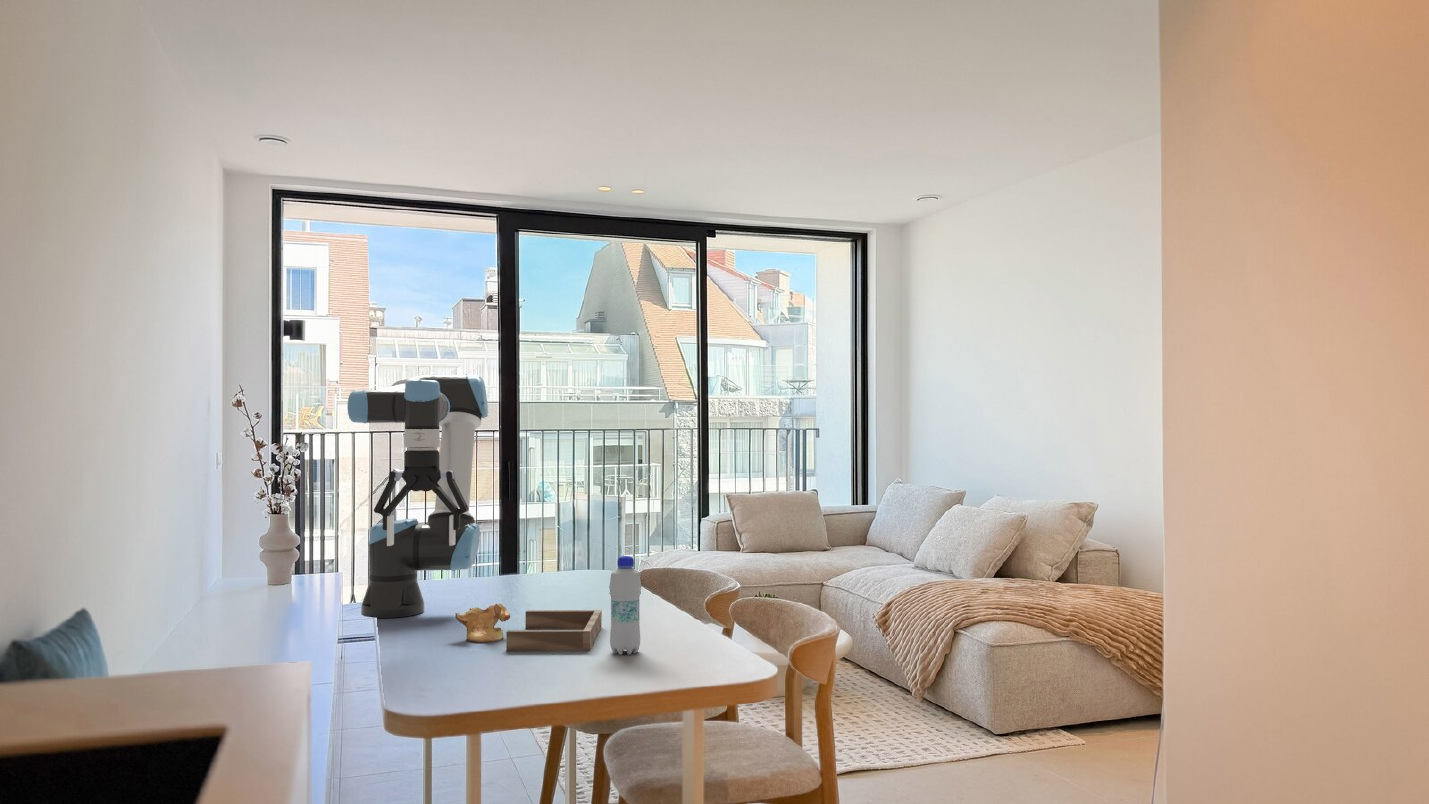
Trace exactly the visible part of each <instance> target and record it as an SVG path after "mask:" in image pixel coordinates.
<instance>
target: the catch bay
mask: <svg viewBox="0 0 1429 804" xmlns="http://www.w3.org/2000/svg"><path fill="white" fill-rule="evenodd" d="M602 615H603V613H602V609H560V610H559V609H546V610H543V609H537V610H536V609H532V610H531V609H530V610H529V609H527V610H525V617H524V618H525V620H524V623H525V629H508V630H507V631H505V632H506V638H505V639H506V640H505V642H506V647H505V648H506V649H505V650H506V652H525V651H527V652H528V651H529V652H533V651H534V652H536V651H537V652H539V651H540V652H543V651H544V652H545V651H546V652H549V651H557V652H558V651H559V652H560V651H566V652H567V651H570V652H571V651H573V652H574V651H577V652H578V651H584V652H585V651H591V650H592V647H593V645H594V643H595V641H596V640H597V638H598V635H599V633H600V631H601V629H602V628H603V627H602V626H603V625H602V621H603V619H602Z"/></svg>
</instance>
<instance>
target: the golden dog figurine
mask: <svg viewBox="0 0 1429 804" xmlns="http://www.w3.org/2000/svg"><path fill="white" fill-rule="evenodd" d="M454 614H455V618H456V620H457V622H459V623H461V624H462V625H463V626H464V627H465V628H466V642H469V643H471V644H472V643H476V644H487V643H488V644H489V643H494V642H498V641H500V640H503V639H504V630H503V629H502V628H501V627H499V626H498V627H495V626H496V625H497V623H498V622H499V621H500V622H506V621H509V619H511V613H509V612H508V611H507V608H506V607H505V606H504V605H503V604H502V603H499V604H498V603H495V605H494V604H492V605H489V606H488V607H486V608H485V609H481V608H480V607H472V608H469V609H468V610H467V611H466V612H464V613H463V614H460V613H458V612H455V613H454Z"/></svg>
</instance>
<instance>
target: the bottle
mask: <svg viewBox="0 0 1429 804" xmlns="http://www.w3.org/2000/svg"><path fill="white" fill-rule="evenodd" d="M634 565H635V561H634V558H633V557H632V556H630V555H623V556H620V557H618V558H617V568H616V569H614V570H613V571H611V573H610V580H609V584H608V585H609V586H608V588H609V595H610V633H609V634H610V635H609V637H610V638H609V644H610V649H611V652H612V653H613V654H616V655H617V654H618V655H621V656H622V655H623V653H624V651H626V654H627V655H631V654H636V653H638V651H639V650H640V646H641V626H640V596H641V594H642V591H641V590H642V582H641V576H640V575H641V573H640V570H637V569H636V568H634Z"/></svg>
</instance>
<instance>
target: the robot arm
mask: <svg viewBox="0 0 1429 804" xmlns="http://www.w3.org/2000/svg"><path fill="white" fill-rule="evenodd" d="M487 397H488V395H487V390H486V386H485V381H484V379H483V377H481V376H480V375H474V374H473V375H471V374H467V373H466V374H422V375H416V376H413V377H407V378H404V379H400V380H398V381H396V382H394V383H393V384H391V385H390V386H387V387H384V388H379V389H373V390H367V389H366V390H365V389H362V390H352V391H351V392H350V394H349V395H348V398H347V415H348V418H349V420H350V422H352V423H359V424H378V423H379V424H382V423H383V424H384V423H385V424H387V423H391V424H392V423H395V424H397V423H398V424H399V423H400V424H402V423H403V424H404V448H406V450H404V455H403V456H404V459H403V462H404V463H403V465H404V466H403V468H404V469H403V472H400V471H397V470H391V471H390V472H389V473H388V481H387V483H386V485H385V487H384V489H383V491H382V493H381V495H380V497H379V498H378V501H377V503H376V505H375V507H374V508H373V512H374V513H376V514H380V515H381V516H382V522H380V523H376V524H374V525H373V526H371V528H370V530H369V540H368V543H367V544H368V585H367V588H366V590H365V595H364V597H363V600H362V603H361V607H360V608H361V609H360V612H361V613H360V614H361V616H363V617H367V618H377V619H378V618H379V619H382V618H383V619H384V618H385V619H389V618H404V617H411V616H414V615H415V616H416V615H419V614H421V613H424V611H425V600H424V597H423V594H422V592H421V589H420V586H419V583H418V572H419V571H421V572H422V571H451V572H455V571H460V570H461V571H463V570H469V569H470V568H472V566H473V565H474V564H475V561H476V559H477V555H478V552H479V545H480V535H481V529H480V525H479V524H477V523H476V522H475V517H474V516H473V515H472V514H471V513H470V500H471V488H472V487H471V486H472V485H471V484H472V472H473V461H474V460H473V457H474V444H475V431H476V429H477V428H479V427H480V426H481V425H482V419H485V418H488V414H489V409H488V407H489V405H488V398H487ZM440 427H441V431H440ZM440 433H441V435H440ZM438 448H440V449H439V450H438ZM401 478H402V480H403V481H404V482H405V484H404V485H403V486H402V488H401V489H400V490H399V492H397V494H396V495H395V497H394V498H393V499H392V500H391V501H390V502H389V503H388V505H387V502H388V500H389V498H390V496H391V495H392V493H393V491H394V488H395V487H396V484H397V482H399V481H400V480H401ZM411 491H413V492H420V491H421V492H430V491H432V492H433V493H434V494H435V505H434V510H433V511H432V512H431V513H430V514H429V515H428V516H427V523H424V524H422V523H421V524H419V521H418V519H417V518H414V517H413V518H405V519H398V520H397V519H396V520H395V515H394V514H393V515H392V513H393V512H394V510H395V509H396V508H397V507H398V505H399V504H400V503H401V502H402V500H404V498H405V497H406V496H407V495H408V494H409V493H410V492H411ZM386 505H387V506H386Z"/></svg>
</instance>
